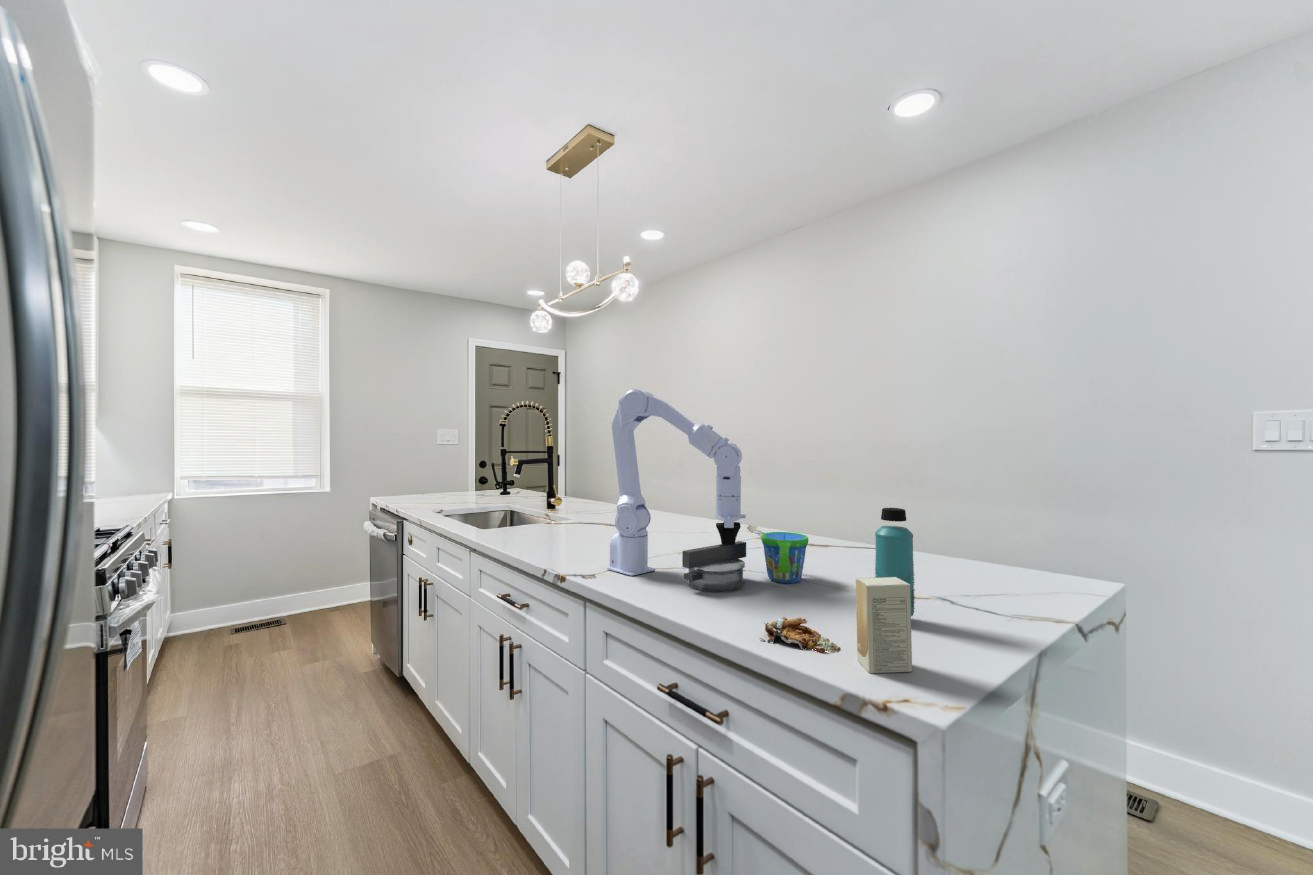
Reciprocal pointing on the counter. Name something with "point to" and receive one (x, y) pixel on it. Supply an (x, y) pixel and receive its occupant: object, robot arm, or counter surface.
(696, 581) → the pot
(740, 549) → the lid
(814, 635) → the brown lumpy piece
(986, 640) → the counter surface
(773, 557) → the snack cup
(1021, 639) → the counter surface
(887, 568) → the beverage bottle
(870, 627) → the skincare box
